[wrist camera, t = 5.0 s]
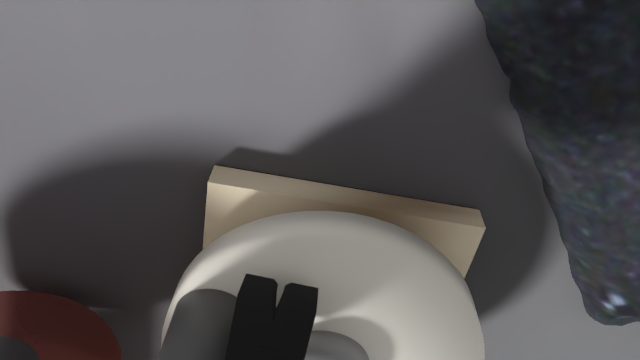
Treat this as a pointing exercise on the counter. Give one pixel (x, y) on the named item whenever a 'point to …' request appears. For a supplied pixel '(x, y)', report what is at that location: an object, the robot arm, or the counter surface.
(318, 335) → the wheel
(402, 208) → the wheel pedestal
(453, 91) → the counter surface
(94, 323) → the metal rod with cap
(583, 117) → the folded black cloth
